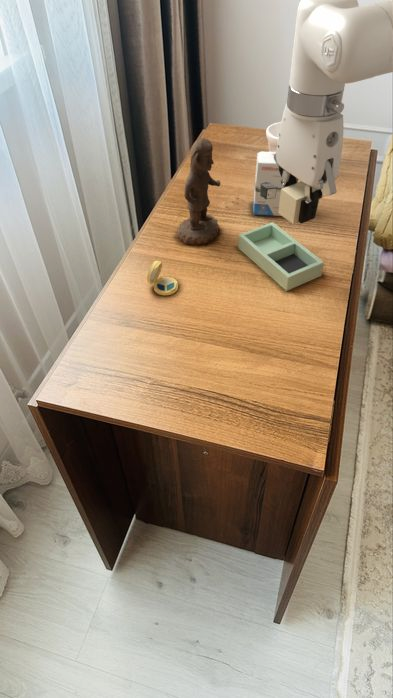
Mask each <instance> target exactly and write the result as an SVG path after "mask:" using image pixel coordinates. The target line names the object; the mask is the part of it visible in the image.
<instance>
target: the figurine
mask: <svg viewBox="0 0 393 698" xmlns="http://www.w3.org/2000/svg"><path fill="white" fill-rule="evenodd" d="M213 149H214V147H213V143H212V142H211V140H210V139H208V138H205V137H201V138H199V139H197V140H195V142H194V143H193V145H192V147H191V150H190V163H189V164H190V165H189V172H188V174H187V177H186V181H185V184H184V194H183V195H184V199H185V200H186V201H187V203H186V209H187V210H188V211H189V218H187V219H184V220H183V221H182V222H181V223H180V224H179V226H178V227H177V239H179V242H180V243H181V242H182V243H184V244H185V245H191V246H193V245H199V246H200V245H201V244H202V245H203V244H204V245H205V244H207V243H209V242H212V241H213V240H214V239H215V238H217V235H218V233H219V223H218V222H219V221H218V219H216V218H215V217H214V216H212V215H210V214H207V213H208V207H209V206H210V205H211V201H210V199H209V195H208V194H209V193H208V189H209V186H211V187H213V186H215V187H220V186H221V181H220V180H216V179H214V178H213V177H212V176H211V174H210V172H209V171H211V170H212V167H213V165H214V164H215V163H214V159H213Z"/></svg>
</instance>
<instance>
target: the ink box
mask: <svg viewBox="0 0 393 698" xmlns="http://www.w3.org/2000/svg"><path fill="white" fill-rule="evenodd" d="M275 153H276V152H269V151H264V150H263V151H259V152H257V153H256V166H255V177H254V188H253V189H254V190H253V203H252V212H253V213H252V214H253V215H254V216H273V217H282V216H281V215H280V214H279V213H278V211H279V202H280V194H281V189H282V188H283V186H282V185H281V178H282V177H281V175H280V172H279V167H278V166H277V164H276V162H275V160H274V155H275ZM297 182H299V180H298V181H297Z"/></svg>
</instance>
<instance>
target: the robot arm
mask: <svg viewBox="0 0 393 698" xmlns="http://www.w3.org/2000/svg"><path fill="white" fill-rule="evenodd" d="M294 28H295V29H294V36H293V37H294V38H293V45H292V54H291V62H290V64H291V65H290V73H289V82H288V90H287V91H288V92H287V99H286V103H285V106H284V109H283V112H282V117H281V121H280V122H281V125H280V130H279V136H278V143H277V152H276V153H275V155H274V160H275V162H276V164H277V166H278V167H279V172H280V175H281V177H282V178H281V185H282V186H283V188H285V187H288V186H291V185H294V184H296V183H299V181H300V182H302V181H303V182H304V183H305V192H304V200H303V201H301V207H300V213H299V222H298V223H299V224H304V223H307V222H310V221H312V220H314V219H315V218H316V217H317V215H316V212H317V213H318V210H317V206H318V207H319V204H318V201H319V202H320V199H323V198H325V197H330V196H332V195H334V194H335V195H336V194H337V185H336V180H337V178H338V176H339V172H340V166H341V159H342V153H343V143H344V114H342V113H343V111H344V110H345V109H344V108H345V104H344V103H343V97H344V92H345V88H346V87H345V86H346V84H352V83H353V84H354V83H357V82H362V81H365V80H368V79H372V78H375V77H380V76H382V75H387V74H391V73H393V0H384V1H380V2H375V3H369V4H368V5H360V6H359V2H358V0H300V1H299V3H298V6H297V11H296V18H295V27H294ZM297 181H298V182H297ZM312 187H315V191H314V192H312Z"/></svg>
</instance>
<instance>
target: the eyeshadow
mask: <svg viewBox="0 0 393 698" xmlns="http://www.w3.org/2000/svg"><path fill="white" fill-rule="evenodd" d="M162 270H163V262H162V261H161V260H155V261H154V262H153V263H152V264H151V266H150V268H149V270H148V272H147V276H146V281H147V283H149V284H150V285H153V290H154V292H155V293H156V294H157V295H160V296H170V295H171V296H172V295H173V294H175V293H176V292H177V291H178V289H179V282H178V280H177V279H175V278H174V277H170V276H163V277H160V278H159V276H160V275H161V272H162Z"/></svg>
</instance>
